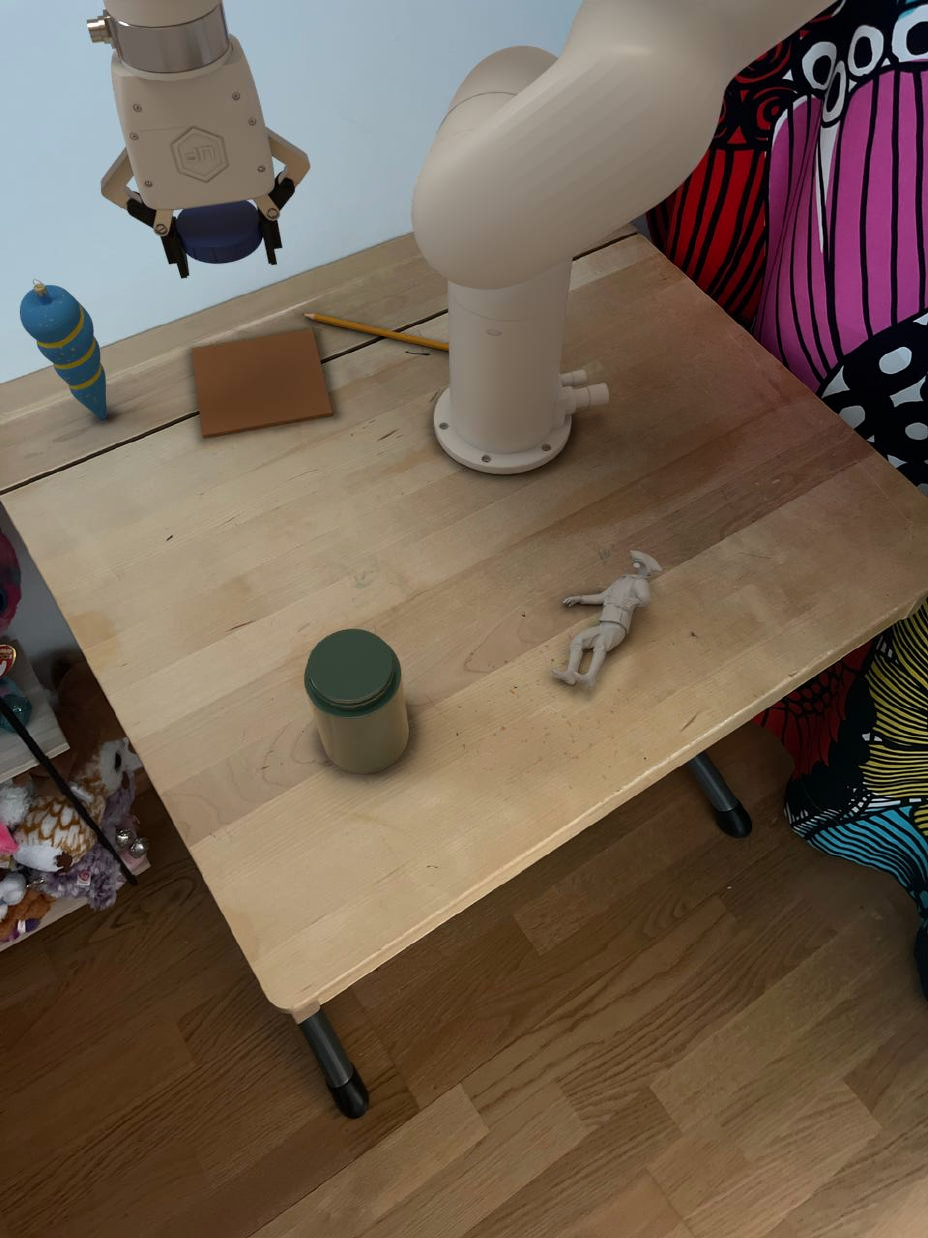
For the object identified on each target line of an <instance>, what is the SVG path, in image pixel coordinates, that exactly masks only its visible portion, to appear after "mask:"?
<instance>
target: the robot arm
mask: <svg viewBox="0 0 928 1238" xmlns="http://www.w3.org/2000/svg"><path fill="white" fill-rule="evenodd" d="M102 2H103V4H104V8H105V9H102V15H97V18H90V19H86V25H87V26H86V27H87V29H88V34H89V37H90V40H91V43H92V44H98V43H99V44H100V43H104V45H107V44H108V45H110V46H111V48H112V50H113V51H112V54H111V62H110V74H111V80H112V81H111V83H112V90H113V96H114V102H115V106H116V111H117V116H118V120H119V124H120V129H121V132H122V136H123V141H124V144H125V145H124V146H125V147H124V148H123V149H122V151H121V152H120V154H119V155H118V156H117V158H116V159H115V161H113V163H112V164H111V166H110V167H109V168H108V169H107V171H106V172H105V174H104V176H103V177H102V178H101V180H100V194H101V196H102V197H103V198H105V199H106V200H107V201H110V202H111V203H112V204H114V205H116V206H117V207H119V208H120V209H123V210H125V211H127V213H128V215H129V216H130V217H132V218H134V219H135V220H137V221H139V222H141V223H142V224H144V225H145V226H148V227H149V228H151V229H152V231H153V233H154V234H155V235H157V236H159V237H160V242H161V244H162V247H163V250H164V253H165V257H166V260H167V263H168V265H174V264H176V267H177V269H178V274H179V277H180V279H181V280H183V279H188V277H189V276H190V268H189V262H188V261H189V260H188V255H187V254H186V253H185V251H184V250H182V247H181V243H180V240H179V235H178V232H177V228H176V219H177V216H176V215H175V216H174V211H180V210H181V211H182V210H183V209H189V208H196V207H204V206H211V205H218V204H225V203H232V202H239V201H246V200H247V201H251V200H252V201H253V202H254V205H256V208H257V210H258V215H259V220H260V225H261V229H262V234H263V239H262V240H263V244H264V249H265V254H266V258H267V263H268V265H271V266H277V265H278V261H277V255H276V250H279V249H283V242H282V236H281V232H280V225H279V221H278V219H280V217H281V211H282V209H283V208H284V207H285V206H286V204H287V203H288V202H289V201H290V199H291V198H292V197H293V195H294V194H295V193H296V188H297V187H298V185H300V184H301V182H302V181H303V179H304V178H305V177H306V176H307V174H308V172H309V171H310V169H311V163H310V159H309V155H308V154H307V152H305V151H304V150H302V149H300V148H299V147H298V146H296V145H294V144H293V143H292V142H291V141H288V140H287V139H286V138H284V137H283V136H281V135H279V134H278V133H276V132H275V131H273V130H272V129H271V128H269V127H268V126H267V125H266V122H265V118H264V113H263V110H262V104H261V101H260V97H259V92H258V89H257V86H256V82H255V79H254V76H253V73H252V70H251V67H250V64H249V62H248V59H247V57H246V54H245V51H244V49H243V47H242V45H241V43H240V41H239V39H238V38H237V37H236V36H234V35H233V34H231V33H230V32H229V26H228V21H227V17H226V11H225V6H224V1H223V0H102ZM836 2H838V0H582V2H581V4H580V5H579V7H578V9H577V12H576V14H575V16H574V18H573V21H572V23H571V26H570V28H569V31H568V35H567V37H566V39H565V42H564V44H563V47H562V50H561V52H560V55H559V57H558V56H557V55H555V54H553V53H552V52H549V51H548V50H545V49H542V48H540V47H536V46H530V45H514V46H513V45H512V46H508V47H505V48H501V49H499V50H497V51H495V52H493V53H491V54H489V55H488V56H486V57H484V58H483V59H482V60H481V61H480V62H478V63H477V64H476V65H475V66H474V67H473V68H472V69H471V70H470V71H469V72H468V74H467V75H466V76H465V78H464V79H463V81H462V82H461V83H460V85H459V86H458V89H457V90H456V92H455V94H454V96H453V97H452V99H451V101H450V103H449V106H448V107H447V110H446V112H445V113H444V116H443V118H442V120H441V122H440V125H439V127H438V129H437V131H436V134H435V137H434V139H433V141H432V143H431V145H430V148H429V150H428V152H427V154H426V156H425V158H424V160H423V162H422V165H421V167H420V170H419V172H418V175H417V177H416V181H415V183H414V187H413V190H412V196H411V203H410V204H411V205H410V221H411V227H412V233H413V237H414V240H415V243H416V246H417V248H418V250H419V252H420V254H421V255H422V257H423V258H424V260H425V262H427V264H428V265H429V266H430V267H431V268H432V269H433V271H435V272H436V274H438V275H440V277H442V278H443V279H445V280H447V281H446V282H447V320H448V321H447V322H448V324H447V326H448V327H447V328H448V344H449V351H448V365H449V367H448V368H449V386H447V387H446V388H445V390H444V391H443V392H442V393H441V394H440V396H439V397H438V400H437V401H436V404H435V406H434V412H433V429H434V433H435V438H436V439H437V441H438V443H439V445H440V446H441V448H442V449H443V451H445V452H446V453H447V455H448V456H450V457H451V458H453V460H455V461H456V462H458V463H460V464H462V465H464V466H465V467H467V468H470V469H471V470H475V471H479V472H483V473H488V474H492V475H493V474H494V475H512V474H521V473H525V472H529V471H532V470H534V469H537V468H540V467H541V466H543V465H546V464H548V463H549V462H550V461H552V460H553V459H555V458H556V456H557V455H559V453H560V452H562V450H563V449H564V447H565V445H567V442H568V440H569V437H570V434H571V429H572V428H571V427H572V415H573V414H575V413H576V411H577V409H581V408H585V407H587V408H594V407H600V406H605V405H608V404H609V401H610V393H609V387H608V385H607V384H606V383H605V382H600V383H597V384H595V383H594V384H590V385H587V381H588V380H587V379H588V378H587V377H588V376H587V373H586V370H585V369H580V370H579V369H578V370H572V371H569V372H565V373H561V372H560V371H561V362H562V354H563V343H564V337H565V326H566V317H567V308H568V307H567V306H568V300H569V299H568V297H569V290H570V284H571V278H572V277H571V276H572V267H573V258H574V255H576V254H578V253H580V252H582V251H583V250H585V249H586V248H588V247H589V246H592V245H593V244H595V243H597V242H598V241H600V240H601V239H604V238H605V237H607V236H609V235H610V234H612V233H613V232H615V231H617V230H619V229H620V228H622V227H624V226H625V225H627V224H629V223H630V222H632V221H633V220H635V219H637V218H639V217H640V216H642V215H643V214H645V213H647V212H648V211H649V210H651V209H653V208H655V207H656V206H657V205H660V203H662V202H663V201H665V199H667V198H668V197H669V196H670V195H672V193H674V192H675V191H676V190H677V189H678V188H680V187H681V185H682V184H683V183H684V182H685V181H687V179H688V178H689V177H690V175H691V174H692V173H693V172H694V171H695V169H696V168H697V167H698V166H699V164H700V162H701V161H702V160H703V158H704V156H705V155H706V153H707V151H708V149H709V148H710V145H711V143H712V141H713V138H714V135H715V133H716V130H717V128H718V124H719V120H720V116H721V112H722V107H723V102H724V97H725V91H726V89H727V87H728V86H729V84H730V83H731V81H732V80H733V79H734V78H735V77H736V76H737V75H738V74H740V72H741V71H742V70H745V68H747V67H748V66H749V65H750V64H752V63H753V62H755V60H757V59H759V58H760V57H761V56H763V55H764V54H766V53H767V52H768V51H770V50H771V49H773V48H774V47H776V46H777V45H779V44H780V43H781V42H782V41H784V40H785V39H787V38H788V37H789V36H791V35H793V34H794V33H795V32H796V31H798V30H799V29H800V28H801V27H803V26H804V25H805V24H807V23H808V22H809V21H811V20H812V19H814V18H815V17H816V16H818V15H819V14H820V13H822V12H824V11H825V10H826V9H828V8H829V7H831V6H832V5H833V4H834V3H836ZM273 158H274V159H275V160H277V161H279V162H280V163H282V164H283V165H285V166H284V167H283V170H281V171H280V172H279V173H278V174H277V175H276V176H275V168H274V161H273ZM133 178H134V180H135V184H136V186H137V190H138V191H137V190H136V191H135V190H132V189H131V188H130V187H129V186H128V184H129V182H130V181H131V180H132V179H133ZM584 385H585V386H584ZM579 386H584V387H579ZM574 387H579V388H575V389H574Z"/></svg>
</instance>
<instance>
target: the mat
mask: <svg viewBox="0 0 928 1238" xmlns="http://www.w3.org/2000/svg"><path fill="white" fill-rule="evenodd" d="M315 336H316V335H315V332H314V329H313V328H308V329H301V330H295V331H289V332H283V333H277V334H271V335H266V336H265V335H264V336H260V337H259V336H258V337H253V338H247V339H241V340H235V341H229V342H223V343H217V344H211V345H205V346H197V347H192V348H191V355H192V362H193V363H192V364H193V371H194V379H195V386H196V394H197V402H198V403H197V404H198V411H199V419H200V428H201V434H202V435H201V436H202V438H203V439H207V438H212V437H217V436H224V435H229V434H234V433H235V434H236V433H240V432H246V431H251V430H257V429H262V428H268V427H269V428H270V427H274V426H280V425H286V424H290V423H291V424H292V423H297V422H302V421H309V420H314V419H319V418H320V419H321V418H325V417H331V416H333V409H332V405H331V401H330V396H329V392H328V387H327V383H326V380H325V379H326V378H325V373H324V371H323V366H322V362H321V357H320V354H319V348H318V345H317V340H316V337H315Z"/></svg>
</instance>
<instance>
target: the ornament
mask: <svg viewBox="0 0 928 1238" xmlns="http://www.w3.org/2000/svg"><path fill="white" fill-rule="evenodd" d="M34 281H36V282H38V283H35V282H34ZM32 283H33V285H34V286H33V287H32V289H31V290H29V291H28V292H27V293H26V294H25V295H24V296H23V297H22V299H21V302H20V305H19V318H20V322H21V325H22V327H23V328H24V329H25V332H27V333H28V335H29V336H31V337H32V338H33V339H34V340H35V341H36V346H37V348H38V350H39V352H40V353H41V354H42V355H43V356H44V357H45V358H46V359H47V360H49V361H50V362H51V363H52V364H53V368H54V370H55V372H56V374H57V375H58V377H60V379H62V380H63V382H65V383H66V384H67V385H68V388H69V391H70V393H71V394H72V396H73V397H74V398H75V399H76V400H77V401H78V402H79V403H80V404H81V405H83V406H84V407H85V408H86V409H87V410H88V411H90V412H91V413H92V414H94V415H95V417H97V418H98V419H100V420H105V419H106V418H107V417H108V407H107V406H108V405H107V378H106V377H107V376H106V372H105V368H104V366H103V365H102V362H101V348H100V345H99V342H98V340H97V338H96V336H95V334H94V333H95V329H94V323H93V320H92V316H91V315H90V314H89V312H88V311H87V309H86V308H85V307H84V306H83V305H82V304H81V303H80V302H79V301H78V300H77V298H76V297H75V296H73V295H72V294H71V293H70V292H69V291H68V290H67V289H65V288H63V287H62V286H59V285H54V284H44V283H42V281H40V280H39V279H36V278H35V279H33V281H32Z"/></svg>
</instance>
